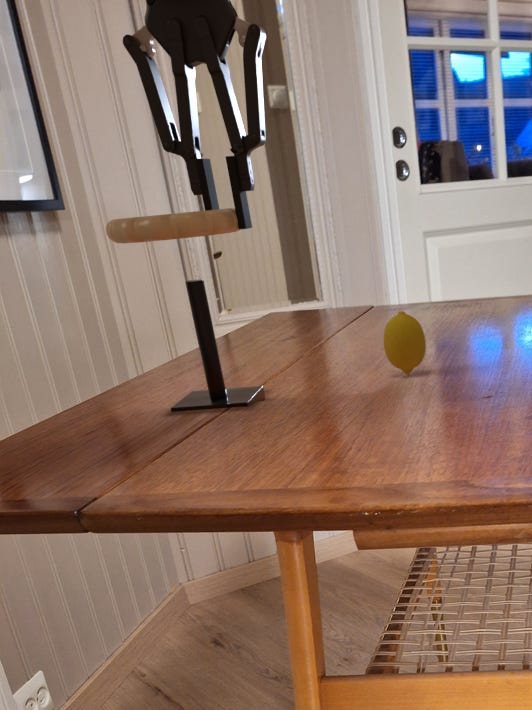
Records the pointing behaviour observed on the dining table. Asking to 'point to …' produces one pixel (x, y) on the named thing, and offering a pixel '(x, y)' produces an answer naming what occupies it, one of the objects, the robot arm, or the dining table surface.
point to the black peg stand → (212, 363)
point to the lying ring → (172, 226)
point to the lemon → (404, 342)
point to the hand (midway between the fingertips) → (230, 229)
